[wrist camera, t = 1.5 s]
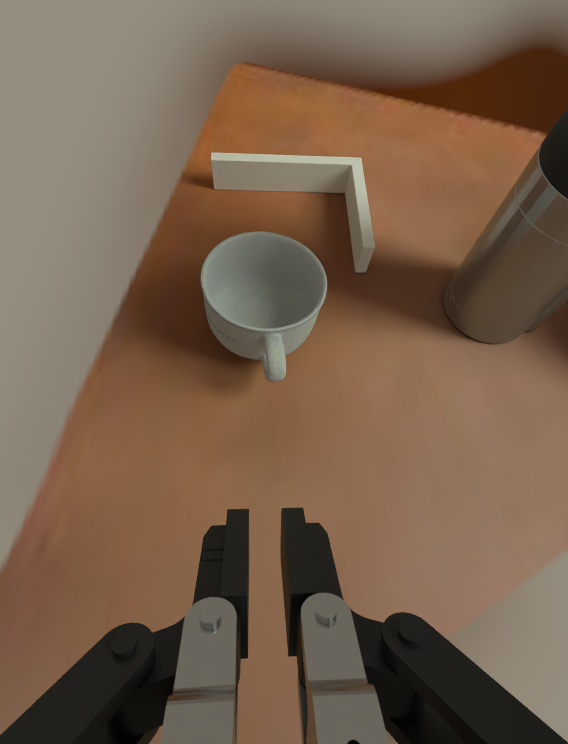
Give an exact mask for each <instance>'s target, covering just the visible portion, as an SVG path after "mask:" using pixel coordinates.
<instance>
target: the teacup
mask: <svg viewBox="0 0 568 744" xmlns="http://www.w3.org/2000/svg"><path fill="white" fill-rule="evenodd" d="M201 287H202V292H203V296H204V304H205V311H206V315H207V320H208V323H209V326H210V328H211V330H212V332H213V334H214V335H215V337H216V338H217V339H218V340H219V342H220V343H221V344H222V345H223V346H225V347H226V348H227V349H229V350H230V351H231V352H233V353H235V354H237V355H239V356H242V357H245V358H249V359H254V360H261V362H262V365H263V369H264V374H265V377H266V379H267V381H269V382H278V381H281V380H283V379H284V378H285V375H286V358H285V355H287V354H289V353H291V352H293V351H294V350H296V349H297V348H298V347H299V346H300V345H301V344H302V343H303V342H304V341H305V340H306V338H307V337H308V335H309V334H310V332H311V330H312V328H313V326H314V323H315V321H316V319H317V316H318V313H319V310H320V308H321V307H322V305H323V303H324V300H325V297H326V292H327V278H326V274H325V270H324V268H323V266H322V264H321V263H320V261H319V260H318V258H317V257H316V256H315V255H314V253H313V252H312V251H310V250H309V249H308V248H307V247H306V246H304V245H303V244H301V243H300V242H298V241H296V240H294V239H292V238H289V237H287V236H284V235H280V234H276V233H271V232H264V231H257V232H247V233H241V234H238V235H235V236H232V237H230V238H228V239H226V240H224V241H222V242H221V243H220V244H218V245H217V246H216V247H215V248H214V249H213V250H212V251H211V252H210V253H209V255H208V256H207V258H206V259H205V261H204V264H203V266H202V270H201Z"/></svg>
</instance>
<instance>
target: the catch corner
mask: <svg viewBox="0 0 568 744" xmlns="http://www.w3.org/2000/svg"><path fill="white" fill-rule="evenodd" d="M211 163H212V173H213V182H214V189H220V190H255V191H290V192H325V193H345V197H346V205H347V213H348V221H349V229H350V237H351V245H352V252H353V260H354V268H355V272H358V273H366V271H367V268H368V265H369V263H370V260H371V257H372V255H373V252H374V249H375V244H374V238H373V231H372V225H371V218H370V212H369V206H368V199H367V193H366V186H365V180H364V174H363V167H362V161H361V158H353V157H324V156H295V155H266V154H237V153H212V155H211Z"/></svg>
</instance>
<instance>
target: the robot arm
mask: <svg viewBox="0 0 568 744" xmlns="http://www.w3.org/2000/svg"><path fill="white" fill-rule="evenodd" d="M567 301H568V109H567V110H566V111H565V112H564V113H563V114H562V115H561V116H560V118H559V119H558V120H557V122H556V123H555V124H554V126H553V127H552V129H551V130H550V132H549V133H548V135H547V136H546V138H545V139H544V141H543V142H542V144H541V145H540V147H539V148H538V150H537V151H536V153H535V154H534V156H533V157H532V159H531V160H530V162H529V163H528V165H527V166H526V168H525V169H524V171H523V172H522V174H521V175H520V177H519V178H518V180H517V181H516V183H515V184H514V186H513V187H512V189H511V190H510V192H509V193H508V195H507V196H506V198H505V199H504V201H503V202H502V204H501V205H500V207H499V208H498V210H497V211H496V213H495V214H494V216H493V217H492V219H491V220H490V222H489V223H488V225H487V226H486V228H485V229H484V231H483V232H482V233H481V235H480V236H479V238H478V239H477V241H476V242H475V244H474V245H473V247H472V248H471V250H470V251H469V253H468V254H467V256H466V257H465V259H464V260H463V262H462V263H461V265H460V266H459V268H458V269H457V271H456V272H455V274H454V275H453V277H452V278H451V280H450V281H449V283H448V284H447V286H446V288H445V290H444V294H443V304H444V308H445V311H446V314H447V315H448V317H449V319H450V320H451V322H452V323H453V324H454V325H455V326H456V327H457V328H458V329H459V330H460V331H462V332H463V333H464V334H466V335H468V336H469V337H471V338H473V339H476V340H478V341H481V342H486V343H491V344H495V343H505V342H509V341H511V340H513V339H515V338H517V337H518V336H519V335H520V334H521V333H523V332H526V331H533V330H534V329H536V328H537V327H538V326H539V325H540V324H541V323H543V322H544V321H545V320H546V319H547V318H548V317H549V316H551V315H552V314H553V313H554V312H555V311H556V310H557V309H559V308H560V307H561V306H562V305H563V304H564V303H566V302H567ZM281 569H282V581H283V594H284V606H285V619H286V631H287V644H288V656H297V664H298V697H299V709H300V722H301V734H302V744H389V742H388V738H387V734H386V730H387V731H388V732H389V733H390V734H391V736H392V737H393V738H394V739H395V740H396V742H397V743H398V744H568V742H567V741H565V740H564V739H563V738H562V737H561V736H559V735H558V734H557V733H556V732H555V731H553V730H552V729H551V728H550V727H549V726H548V725H547V724H545V723H544V722H543V721H542V720H541V719H540V718H538V717H537V716H536V715H535V714H534V713H532V712H531V711H530V710H529V709H528V708H527V707H525V706H524V705H523V704H522V703H521V702H519V701H518V700H517V699H516V698H515V697H514V696H513V695H511V694H510V693H509V692H508V691H507V690H505V689H504V688H503V687H502V686H501V685H500V684H498V683H497V682H496V681H495V680H494V679H493V678H491V677H490V676H489V675H488V674H487V673H486V672H484V671H483V670H482V669H481V668H479V666H477V665H476V664H475V663H474V662H473V661H471V660H470V659H469V658H468V657H467V656H466V655H464V654H463V653H462V652H461V651H460V650H459V649H457V648H456V647H455V646H454V645H453V644H452V643H450V642H449V641H448V640H447V639H446V638H444V637H443V636H442V635H441V634H440V633H439V632H437V631H436V630H435V629H434V628H433V627H432V626H430V625H429V624H428V623H427V622H426V621H424V620H423V619H422V618H420V617H418V616H416V615H413V614H410V613H404V612H402V613H395V614H392V615H391V616H389V617H388V618H387V619H386V620H385V622H384V623H383V622H379V621H375V620H371V619H368V618H364V617H362V616H360V615H358V614H357V613H355V612H354V611H352V610H351V609H350V608H349V606H348V605H347V603H346V602H345V601H344V599H343V597H342V593H341V589H340V585H339V580H338V576H337V572H336V568H335V563H334V559H333V555H332V551H331V548H330V542H329V538H328V534H327V532H326V531H325V530H324V528H323V527H322V526H321V525H320V524H319V523H306V522H305V516H304V510H303V508H282V510H281ZM248 608H249V509H228V511H227V521H226V525H217V526H211V527H210V528H209V530H208V531H207V533H206V534H205V535H204V537H203V543H202V551H201V556H200V562H199V569H198V575H197V582H196V588H195V594H194V601H193V605H192V606H191V608H190V609H189V610H188V611H187V613H186V616H185V617H184V618H183V619H182V620H180V621H179V622H178V623H176V624H174V625H172V626H170V627H167V628H165V629H162V630H159V631H156V632H153V633H152V632H151V631H150V629H149V628H148V627H146V626H145V625H143V624H139V623H127V624H123V625H120V626H118V627H116V628H114V629H112V630H111V631H109V632H108V633H107V634H106V635H105V636H104V637H103V638H102V639H101V640H100V641H99V642H97V643H96V644H95V645H94V646H93V647H92V648H91V649H90V650H89V651H88V652H87V653H86V654H85V655H84V656H83V657H82V658H81V659H80V660H79V661H78V662H77V663H76V664H74V665H73V666H72V667H71V668H70V669H69V670H68V671H67V672H66V673H65V674H64V675H63V676H62V677H61V678H60V679H59V680H58V681H57V682H56V683H55V684H54V685H53V686H51V687H50V688H49V689H48V690H47V691H46V692H45V693H44V694H43V695H42V696H41V697H40V698H39V699H38V700H37V701H36V702H35V703H34V704H33V705H32V706H31V707H30V708H28V709H27V710H26V711H25V712H24V713H23V714H22V715H21V716H20V717H19V718H18V719H17V720H16V721H15V722H14V723H13V724H12V725H11V726H10V727H9V728H8V729H6V730H5V731H4V732H3V733H2V734H1V735H0V744H149V742H150V741H151V740H152V738H153V737H154V736H155V734H156V733H157V731H158V729H159V727H160V726H162V725H163V728H162V734H161V740H160V744H237V716H238V683H239V679H240V662H241V659H244V658H248ZM385 729H386V730H385Z"/></svg>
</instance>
